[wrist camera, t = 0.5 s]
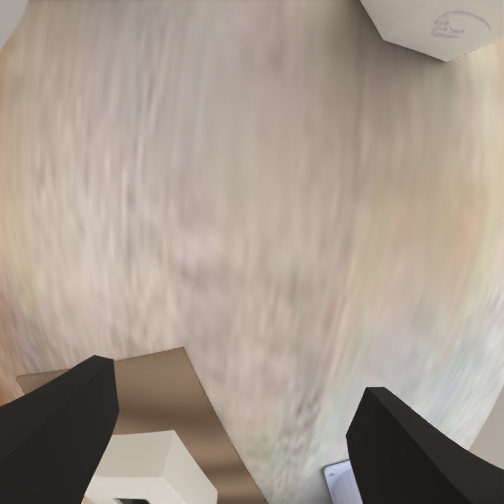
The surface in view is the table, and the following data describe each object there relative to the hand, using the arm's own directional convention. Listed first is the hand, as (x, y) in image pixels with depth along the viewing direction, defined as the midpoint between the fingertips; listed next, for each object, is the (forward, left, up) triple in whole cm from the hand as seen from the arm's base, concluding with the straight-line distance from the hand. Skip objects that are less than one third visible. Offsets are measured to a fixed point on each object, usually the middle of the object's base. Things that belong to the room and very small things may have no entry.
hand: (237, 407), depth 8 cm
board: (-14, +13, -10) cm, 21 cm away
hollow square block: (-14, +13, -10) cm, 21 cm away
